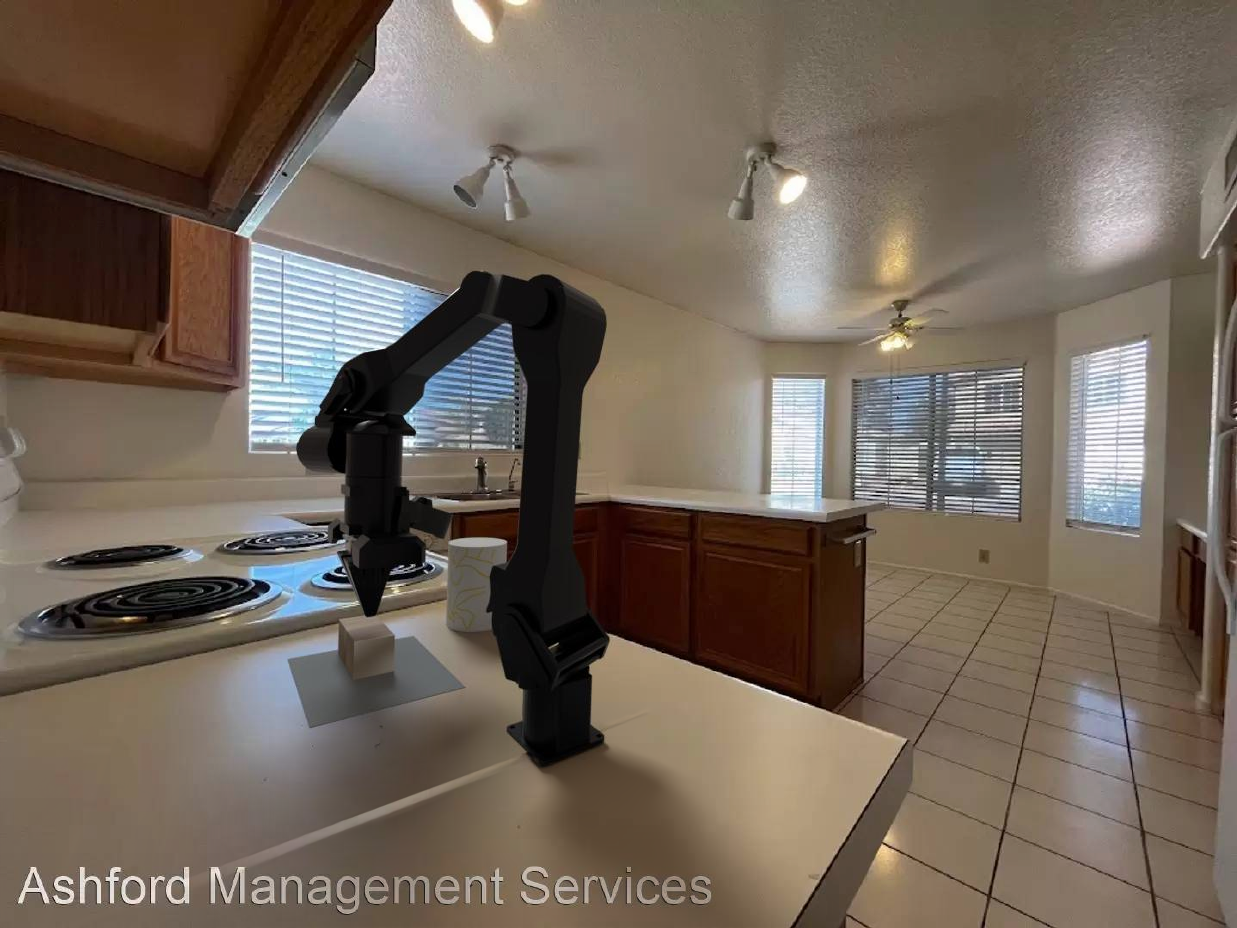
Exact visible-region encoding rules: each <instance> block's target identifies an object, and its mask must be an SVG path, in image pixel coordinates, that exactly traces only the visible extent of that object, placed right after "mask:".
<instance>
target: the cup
mask: <svg viewBox="0 0 1237 928" xmlns="http://www.w3.org/2000/svg"><path fill="white" fill-rule="evenodd" d="M447 543H448V548H447V549H448V551H447V581H446V582H447V583H446V615H445V616H446V618H445V625H446V627H447V628H448V629H450V630H453V631H457V632H463V633H474V632H475V633H478V632H485V631H486V632H487V631H490V630H492V624H491V615H492V612H490V613H487V612H486V609H487V606H488V604H489V599H490V573H491V569H492V567H493V566H495V565H499V564H503V563H507V559H508V558H507V556H508V555H507V552H508V541H507V540H505V539H501V538H496V537H464V538H457V539H452V540H450V541H448V542H447Z"/></svg>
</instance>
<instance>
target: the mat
mask: <svg viewBox="0 0 1237 928" xmlns="http://www.w3.org/2000/svg"><path fill="white" fill-rule="evenodd" d="M287 663H288V665H289V669H290V670H291V674H292V679H293V681H294V684H295V687H296V690H297V694H298V695H299V699H300V703H301V705H302V708H303V711H304V716H305V718H306V721H307V724H308V727H309V728H308V729H312V728H315V727H319V726H322V725H327V724H330V723H331V724H332V723H334V722H335V723H336V722H338V721H341V720H346V719H349V718H353V717H357V716H361V715H362V716H363V715H365V714H369V713H372V712H377V711H380V710H383V709H388V708H391V707H392V708H393V707H396V706H399V705H404V704H407V703H410V702H415V701H419V700H422V699H426V698H430V697H434V696H438V695H442V694H445V693H449V692H453V691H457V690H460V689H465V688H466V686H465V684H463V683H462V682H461V681H460V679H458V678H457V677H456V676H455V675H454V674H453V673H452V672H451V671H450V670H449V669H448V668H447V667H446V666H445V665H444V664H443V663H442V662H441V661H440V660H439V659H438V658H437V657H436V656H434V654H433V653H432V652H431V651H429V649H427V647H425V646H424V644H423V643H421V642H420V640H418V639H417V638H416V636H414V635H409V636H405V637H399V638H395V648H394V671H392V672H388V673H383V674H379V675H374V676H369V677H365V678H360V679H356V680H354V679H353V678H352V676H351V674H350V672H349V671H348V669H347V667H346V666H345V664H344V662H343V660H342V659H341V657H340V655H339V653H338V649H336V650H330V651H324V652H319V653H313V654H307V655H301V656H297V657H291V658H287Z"/></svg>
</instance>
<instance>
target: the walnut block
mask: <svg viewBox="0 0 1237 928" xmlns="http://www.w3.org/2000/svg"><path fill="white" fill-rule="evenodd" d="M337 638H338V639H337V640H338V643H337V650H338V653H339V655H340V657H341V659H342V660H343V662H344V664H345V666H346V667H347V669H348V671H349V672H350V674H351V676H352V678H353V679H354V680H356V679H360V678H365V677H369V676H374V675H379V674H383V673H388V672H392V671H394V648H395V639H396V636H395V633H393V631H392V630H391V629H390V628H389V626H387V625H386V624H385V623H384V621H382V620H381V618H380V617H379V616H378V615H376V616H373V617H366V616H365V615H364V614H363V615H358V616H351V617H345V618H339V619H338V637H337Z"/></svg>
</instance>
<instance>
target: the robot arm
mask: <svg viewBox="0 0 1237 928" xmlns="http://www.w3.org/2000/svg"><path fill="white" fill-rule="evenodd" d="M460 283H461V284H460V286H459V288H457V289H456V290H455V291H454V292H453V293H451V294H450V295H449V296H448V297H447V298H446V299H444V300H443V301H442V302H441V303H440V304H438V306H436V307H435V308H434V309H432V310H431V311H430V312H429V313H428V314H426V316H424V317H423V318H421V319H420V321H418V322H417V323H415V325H414V326H412V327H411V328H409V330H407V331H406V332H405V333H404V334H403V335H402V336H400V337H399V338H398V339H397V340H396V341H394V342H393V343H391V344H389V345H388V346H385V347H380V348H375V349H371V350H365V351H363V352H360V354H358V355H356V356H353V357H352V358H350V359H349V360H347V361H346V362H344V364H342V366H341V367H340V369H339V370H338V372H337V374H336V376H335V377H334V380H333V381H332V384H331V386H330V388H329V389H328V392H327V393H326V395H325V397H324V398H323V400H322V401H321V402H320V404H319V406H318V407H319V412H318V414H317V415H315V416H314V425H313V426H311V427H310V426H309V428H307V429H306V430H305V431H303V432H302V434H301V435H300V436H299V438H298V442H297V443H296V447H295V449H296V455H297V458H298V461H299V462H300V463H301V465H303V467H305V468H306V469H307V470H310V471H311V472H316V473H323V474H324V473H326V474H341V475H345V476H344V484H340V494H342V495H344V507H343V509H344V511H343V517H336V518H334V520H333V521H331V522H330V523H329V524H328V525H327V542H328V543H330V544H331V545H335V544H337V543H338V541H345V547H344V548H345V549H344V550H342V549H341V550H338V551H336V554H337V557H338V558H339V561H340V562H341V564H342V567H343V570H344V571H345V574H346V576H347V578H348V581H349V583H350V585H351V587H352V590H353V592H354V595H355V598H357V602H358V604H359V606H360V608H361V611H362V613H363V616H364V615H365V616H366V617H373V616H376V615H377V614H378V611H379V608H380V605H381V602H382V599H383V596H384V593H385V589H386V586H387V583H388V580H389V577H390V575H391V572H392V571H393V570H394V569H395V568H397V567H400V566H410V565H420V564H424V563H426V562H427V561H426V560H427V558H426V555H427V554H426V553H427V543H426V542H424V541H423V540H422V539H421V538H420V537H419V536H417V534H414V533H411V532H410V531H411V529H413V530H415V531H419V532H420V531H421V532H422V533H426V534H429V535H432V536H433V537H435V538H437V539H440V540H445V538H446V536H447V534H448V533H447V532H448V530H449V528H450V525H451V522H452V520H453V517H454V513H452V512H451V513H450V512H447V511H445V510H442V509H439V508H435V507H433V500H432V498H429V497H426V496H425V497H424V496H422V495H419V494H417V495H415V496H414V497H413V498H412V499H410V489H409V488H408V487H407V486H405V485H403V484H402V483H403V452H404V451H403V450H404V449H403V448H404V437H415V436H416V435H417V430H416V429H415V428H414V427H413V425H411V424H410V423H409V422H408V421H407V420H406V418H405V417H404V416H406V415H407V414H409V412H410V411H411V410H412V409H413V408H414V407H415V406H416V405H417V403H419V402H420V400H422V398H423V397H424V394H425V389H426V384H427V383H428V381H429V380H430V379H432V378H433V377H434V376H435V375H437V373H439V372H440V371H442V370H443V369H444V368H446V367H448V365H450V364H451V363H453V362H454V361H455V360H456V359H458V358H459V357H460V356H461V355H463V354H464V353H466V352H467V351H468V350H470V349H471V348H473V347H474V346H475V345H476V344H477V343H479V342H480V341H482V340H483V339H484V338H485V337H487V336H488V335H490V333H492V332H493V331H495V330H496V329H497V328H499V327H500V326H501V325H503V324H509V325H510V326H511V338H512V339H511V341H512V349H513V352H514V355H515V357H516V359H517V361H518V362H517V363H518V364H519V367H520V369H521V371H522V374H523V376H524V379H525V382H526V402H525V403H526V405H525V416H524V432H523V433H524V434H523V448H522V449H523V450H522V460H521V461H522V464H521V478H520V479H521V480H520V493H519V497H520V498H519V510H518V511H519V512H518V524H517V526H518V527H517V542H516V546H515V550H514V552H513V554H512V555H511V557H510V559H509V560H508V562H507V561H506V563H503V564H499V565H495V566H493V567H492V569H491V573H490V599H489V604H488V606H487V609H486V612H487V613H490V612H492V615H491V624H492V629H491V630H492V633H493V636H494V637H495V640H496V644H497V649H498V652H499V653H498V654H499V656H500V660H501V665H502V669H503V673H504V677H505V679H506V680H508V681H511V682H513V683H515V684H516V685H517V687H518V689H520V690H522V707H521V708H522V709H521V717H522V719H521V720H520V721H517V722H514V723H512V724H509V725H507V726H506V732H507V734H509V735H510V737H512V739H514V740H515V741H516V742H517V744H518V745H520V746H521V747H522V749H524V750H525V752H526V754H527V756H529V757H530V758H531V760H533V761H534V762H535V763H536V764H537V765H538V766H541V767H545V766H548V765H551V764H553V763H556V762H559V761H561V760H563V759H566V758H568V757H570V756H571V757H572V756H573V755H576V754H578V753H581V752H583V751H586V750H588V749H591V748H594V747H596V746H598V745H601V744H603V743H604V742H605V739H606V738H605V736H606V735H605V734H604V733H603V732H602V731H600V730H599V729H598V728H596V727H595V726H593V724H591V723H592V722H591V721H592V698H593V697H592V696H593V695H592V694H593V693H592V692H593V675H592V674H591V673H590V665H593V663H595V662H596V661H598V660H602V659H603V658H605V655H606V652H607V649H608V647H609V645H610V642H611V638H610V636H609V634H608V633H607V632H606V630H605V629H604V628H603V626H602V625H601V623H600V622H599V620H598V619H597V618H596V616H595V615H594V613H593V612H592V611H591V610H590V608H589V607H588V605H587V595H586V581H585V575H584V573H583V570H582V567H581V566H580V563H579V561H578V559H577V556H576V554H575V552H574V543H573V540H574V528H575V527H574V525H575V512H576V500H577V499H576V498H577V482H578V470H579V469H578V467H579V455H580V454H579V453H580V437H581V424H582V423H581V422H582V411H583V409H582V408H583V397H584V396H583V395H584V389H585V387H587V386H586V385H587V384H588V382H589V381H590V378H591V377H592V375H593V373H594V372H595V370H596V368H597V366H598V364H600V359H601V356H602V350H603V346H604V342H605V341H604V340H605V337H606V333H607V332H606V331H607V326H608V325H607V324H608V323H607V314H606V312H605V311H606V310H605V309H604V308H603V307H602V305H601V304H600V303H599V302H598V300H597V299H595V298H594V297H592V296H590V295H588V294H586V293H584V292H583V291H581V290H579V289H578V288H576V287H573V286H572V285H571V284H569V283H567V282H565V281H563V280H561V279H560V278H557V277H555V276H554V275H552V274H547V273H546V274H545V273H541V274H539V275H535V276H532V277H531V278H530V279H528V280H527V279H526V280H525V279H522V278H518V277H515V276H510V275H507V274H501V273H500V274H492V273H491V272H488V271H485V270H484V269H483V270H471V271H470V272H468V273H467V274H466V275H465V276H464V277H463V279H462V281H461V282H460ZM377 616H378V615H377Z"/></svg>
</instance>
